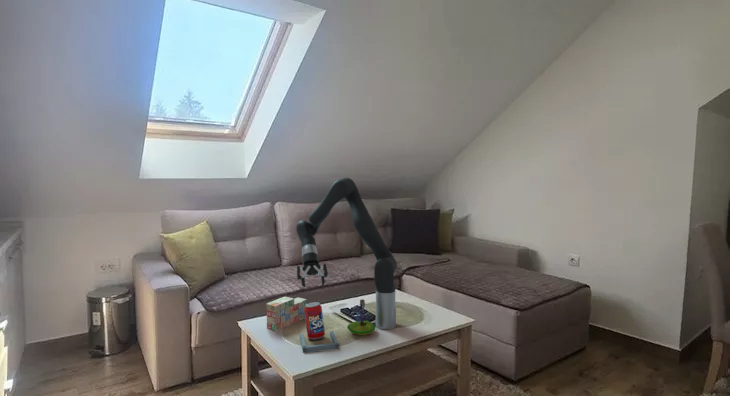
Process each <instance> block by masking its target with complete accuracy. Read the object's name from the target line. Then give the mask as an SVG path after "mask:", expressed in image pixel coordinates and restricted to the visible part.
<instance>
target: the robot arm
mask: <svg viewBox="0 0 730 396" xmlns="http://www.w3.org/2000/svg"><path fill="white" fill-rule="evenodd" d="M343 199H346V202H347V203H348V205H349V208H350V210H351V217H352V223H353V227H354V229H355V231H356V233H357V234H358V236H359V238H360V240H362V241H363V243H364V244H365V245H367V247H369V249H370V250H371V251H372V253H373V255H374V257H375V259H376V262H375V264H374V268H373V269H374V271H373V274H374V286H375V328H378V329H381V330H391V329H396V328H397V307H396V285H395V283H394V282H395V281H394V279H395V278H394V277H395V275H394V273H395V272H396V271H397V268H398V263H397V261H396V259H395V257H394V256H393V253H391V251H390V249H388V246H387V245H386V243H385V240H383V237H382V235H381V233H380V232H379V230H378V228H377V225H376V223H375V222H374V219H373V218H372V216H371V214H370V213H369V210H368V209H367V207H366V205H365V203H364V201H363V199H362V197H361V194H360V192H359V189H358V188H357V185H356V183H355V182H354V180H353V179H352V178H349V177H344V178H343V177H342V178H340V179H337V180H335V181H334V182H333V184H332V185H331V186H330V188H329V190H328V192H327V194H325V196H324V198H323V199H322V201H320V203H318V205H316V208H314V209H313V211H312V212H311V213H310V214H309V216H308V219H309V221H307V220H299V221H298V222H297V224H296V228H295V229H296V233H297V236H298V239H299V240H300V242H301V244H300V245H301V259H302V266H300V265H297V267H296V279H297V280H299V281H301V282H300V283H301V286H302V287H303V288H305V287H306V280H305V278H307V276H315V275H317V276H318V277H319V278H320V282H321V286H324V285H325V283H326V281H325V278H328V275H329V273H328V268H327V264H326V263H323V264H320V261H319V253H318V248H317V244H316V243H317V242H316V238H315V237H314V236H315V235H316V234H317V233H318V230H319V228H320V226H321V224H322V223H323V222H324V221H325V220H326V218H328V216H329V215H330V214H331V211H332V209H333V208H334V207H335V205H336V204H338V203H339V202H340V201H341V200H343ZM320 269H321V270H320ZM302 271H303V274H301V272H302Z"/></svg>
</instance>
